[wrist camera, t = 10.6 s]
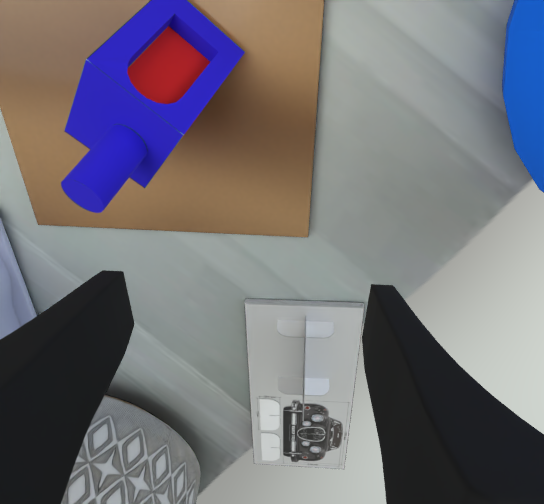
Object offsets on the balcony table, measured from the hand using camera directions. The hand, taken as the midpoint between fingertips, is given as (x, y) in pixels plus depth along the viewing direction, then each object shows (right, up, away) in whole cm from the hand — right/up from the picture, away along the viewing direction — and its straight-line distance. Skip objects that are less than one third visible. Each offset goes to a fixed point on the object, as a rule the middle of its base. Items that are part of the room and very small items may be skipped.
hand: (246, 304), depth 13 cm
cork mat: (-4, +9, +6) cm, 11 cm away
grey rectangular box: (+3, -7, +16) cm, 18 cm away
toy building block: (-4, +9, +6) cm, 11 cm away
